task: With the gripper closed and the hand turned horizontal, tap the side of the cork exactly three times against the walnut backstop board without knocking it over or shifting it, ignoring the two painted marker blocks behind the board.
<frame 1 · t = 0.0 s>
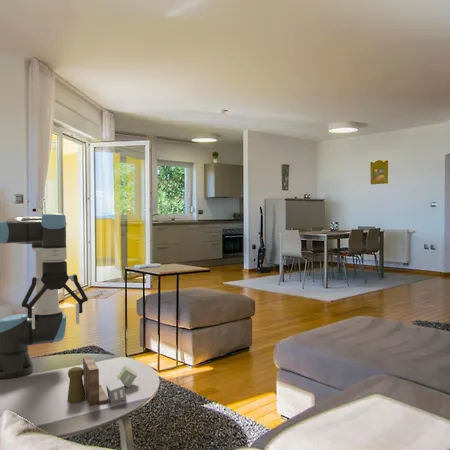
hand: (56, 325, 146), 28 cm above the table, tool pointing down, fingers open, 13 cm apart
backstop board: (91, 396, 158), on the table
cork: (76, 400, 156), on the table
sage marker block: (130, 370, 168), point 6 cm above the table, tilted 144°
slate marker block: (109, 394, 153), point 3 cm above the table, tilted 80°
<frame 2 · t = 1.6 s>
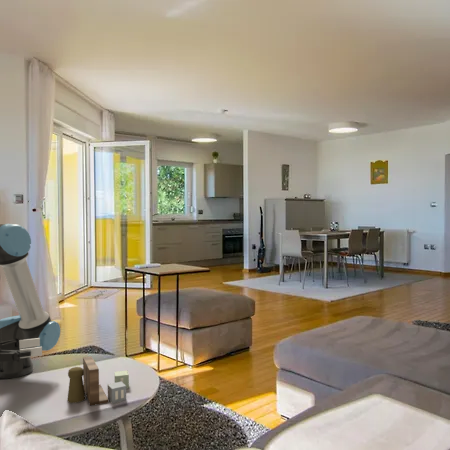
hand: (40, 346, 151), 20 cm above the table, tool horizontal, fingers open, 12 cm apart
sage marker block: (121, 373, 167), point 5 cm above the table, tilted 180°
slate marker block: (109, 393, 154), point 2 cm above the table, tilted 90°
everything else where it was.
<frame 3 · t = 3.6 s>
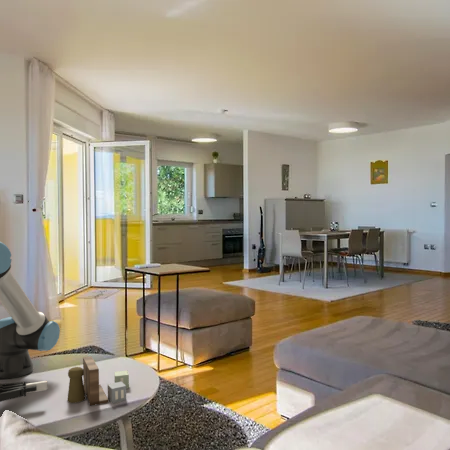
hand: (46, 385, 152), 7 cm above the table, tool horizontal, fingers closed
nothing on the table moved.
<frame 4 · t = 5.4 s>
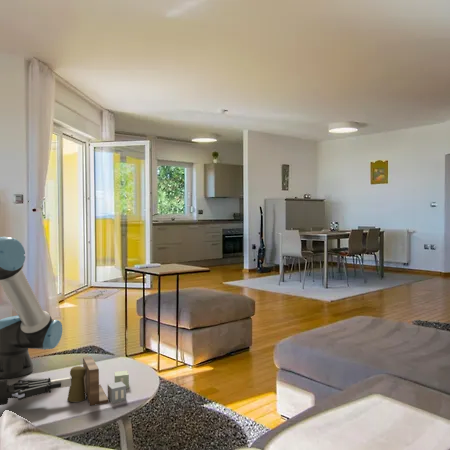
hand: (70, 381, 155), 7 cm above the table, tool horizontal, fingers closed
cork: (76, 399, 156), on the table, touching gripper
everything else where it was.
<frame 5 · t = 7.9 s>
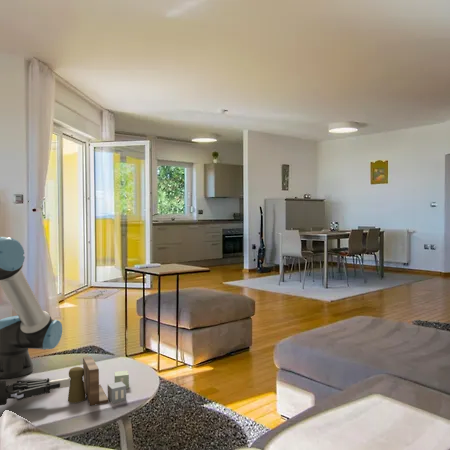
hand: (69, 382, 155), 6 cm above the table, tool horizontal, fingers closed
nothing on the table moved.
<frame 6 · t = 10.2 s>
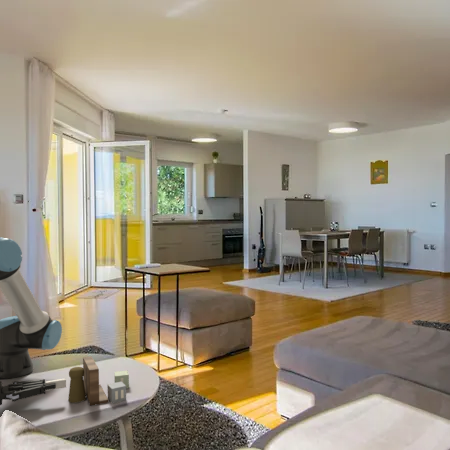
hand: (65, 382, 154), 6 cm above the table, tool horizontal, fingers closed
cork: (77, 399, 156), on the table
everything else where it was.
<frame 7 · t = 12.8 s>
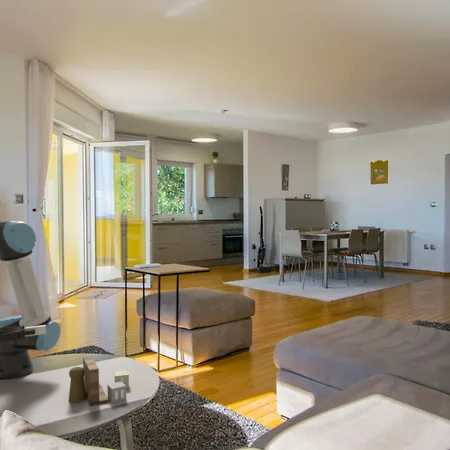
hand: (45, 329, 151), 26 cm above the table, tool horizontal, fingers closed
nothing on the table moved.
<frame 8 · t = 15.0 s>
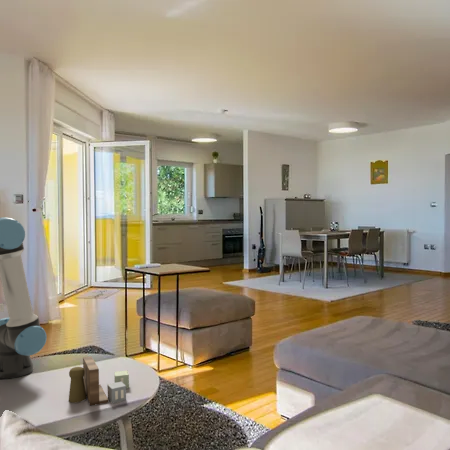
hand: (3, 307, 158), 32 cm above the table, tool horizontal, fingers closed
nothing on the table moved.
at the end: cork moved 0.4 cm from its start; cork tilted 0°; cork touching table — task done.
